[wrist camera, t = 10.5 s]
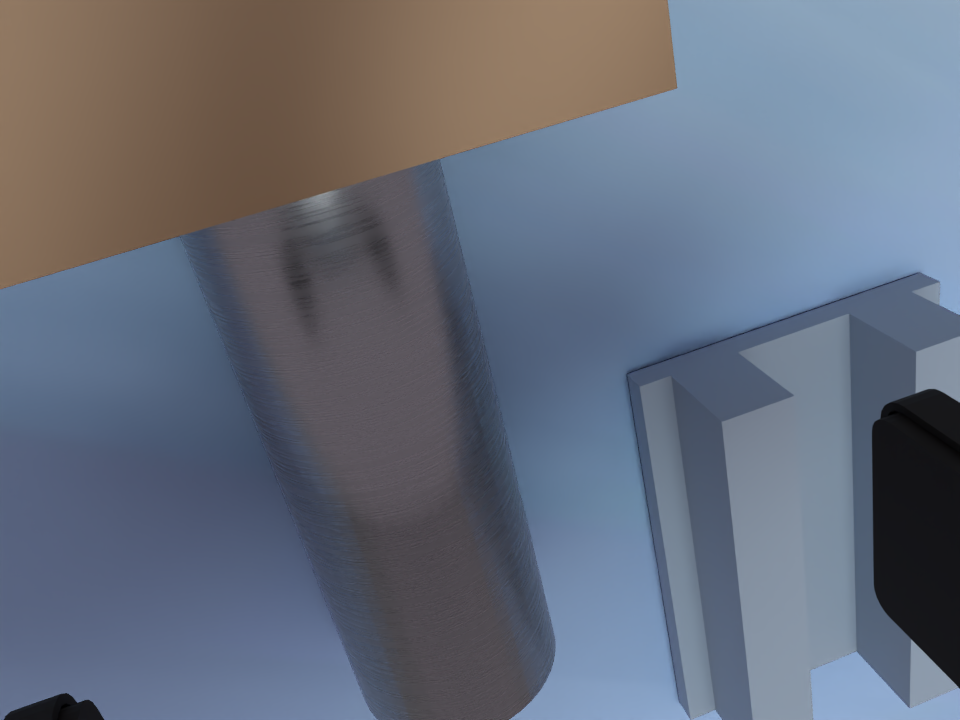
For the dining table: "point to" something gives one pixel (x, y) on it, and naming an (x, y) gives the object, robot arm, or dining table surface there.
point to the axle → (387, 439)
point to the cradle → (784, 498)
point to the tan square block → (277, 103)
